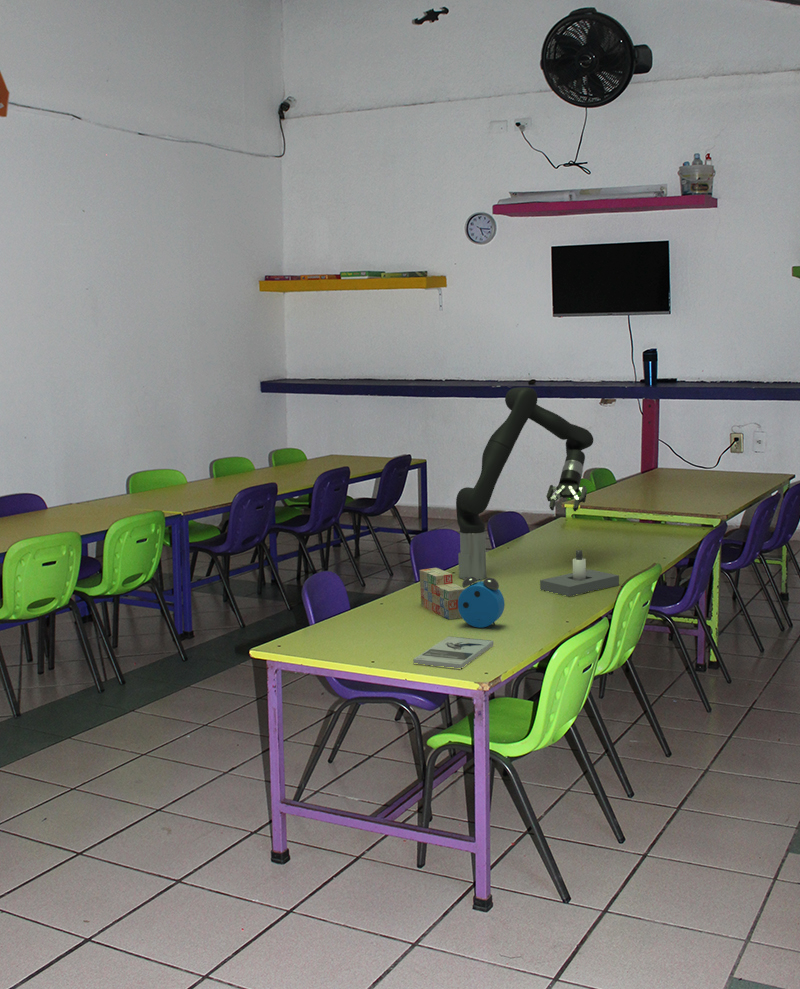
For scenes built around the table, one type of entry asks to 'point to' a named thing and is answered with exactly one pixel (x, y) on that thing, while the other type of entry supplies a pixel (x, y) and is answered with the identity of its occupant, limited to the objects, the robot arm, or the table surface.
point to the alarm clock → (480, 602)
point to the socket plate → (579, 583)
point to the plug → (579, 566)
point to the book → (453, 652)
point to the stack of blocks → (440, 592)
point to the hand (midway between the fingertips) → (563, 509)
